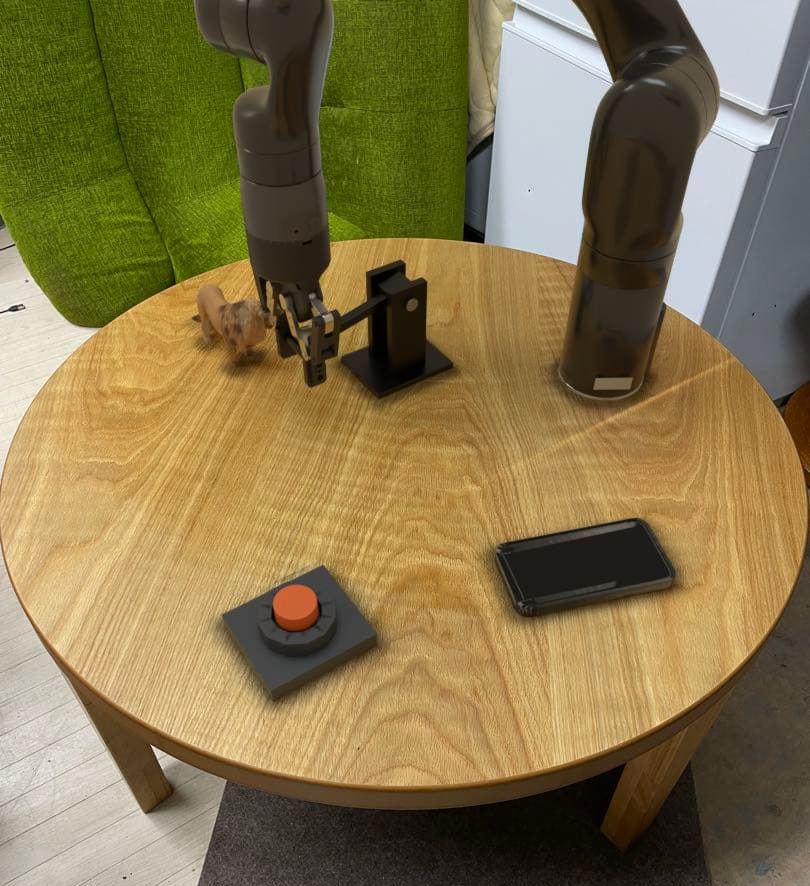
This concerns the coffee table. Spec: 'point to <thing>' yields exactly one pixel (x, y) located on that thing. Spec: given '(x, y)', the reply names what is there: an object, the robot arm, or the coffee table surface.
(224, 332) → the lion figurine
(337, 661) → the control block
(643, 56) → the robot arm
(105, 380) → the coffee table surface
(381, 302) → the switch lever
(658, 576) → the phone
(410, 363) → the switch bracket
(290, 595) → the button
